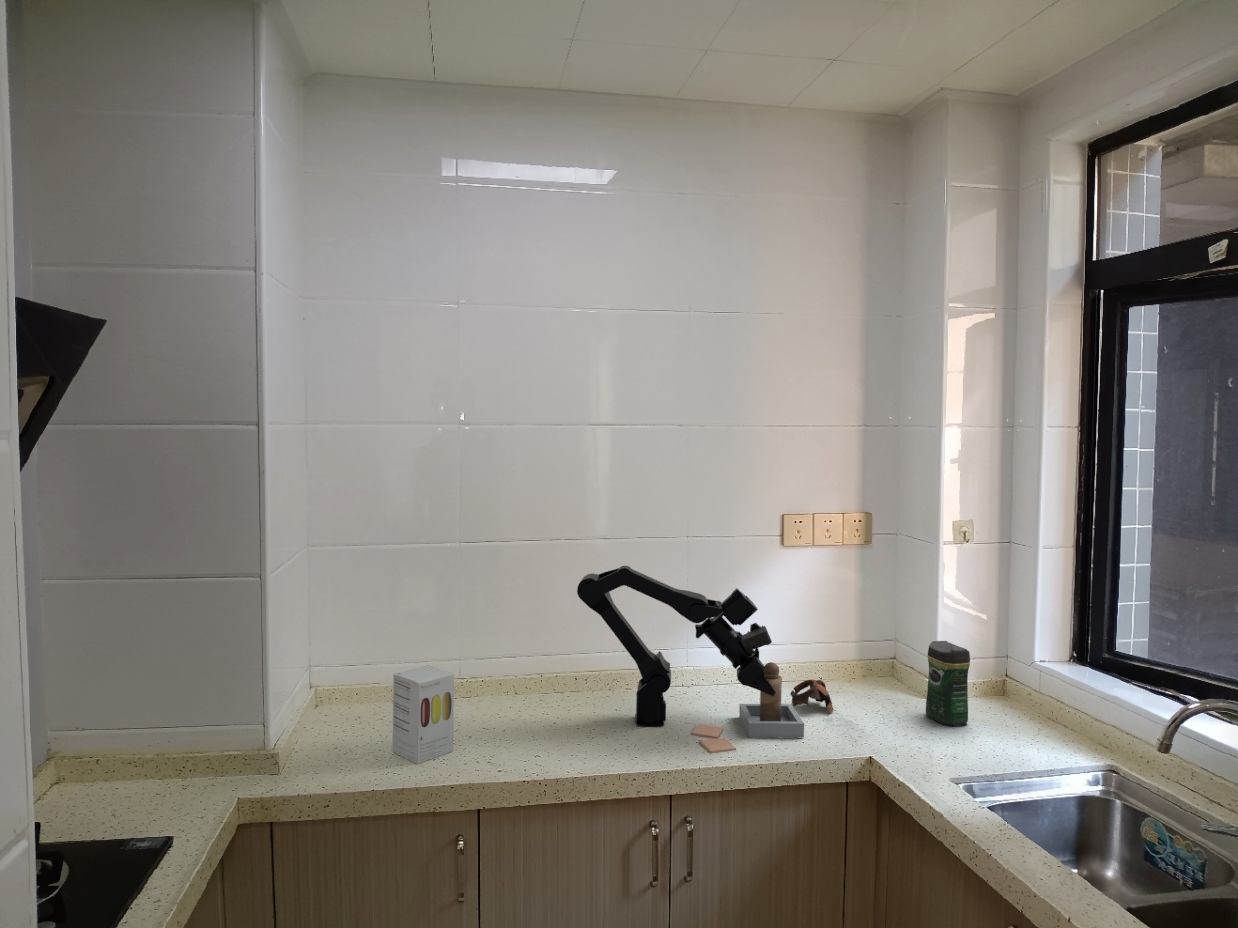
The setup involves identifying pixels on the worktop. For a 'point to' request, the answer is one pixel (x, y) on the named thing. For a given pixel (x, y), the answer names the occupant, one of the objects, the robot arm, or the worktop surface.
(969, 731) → the worktop surface
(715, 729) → the tile
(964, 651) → the coffee jar
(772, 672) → the pepper mill
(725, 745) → the tile
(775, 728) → the tray
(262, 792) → the worktop surface
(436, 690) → the supplement box
